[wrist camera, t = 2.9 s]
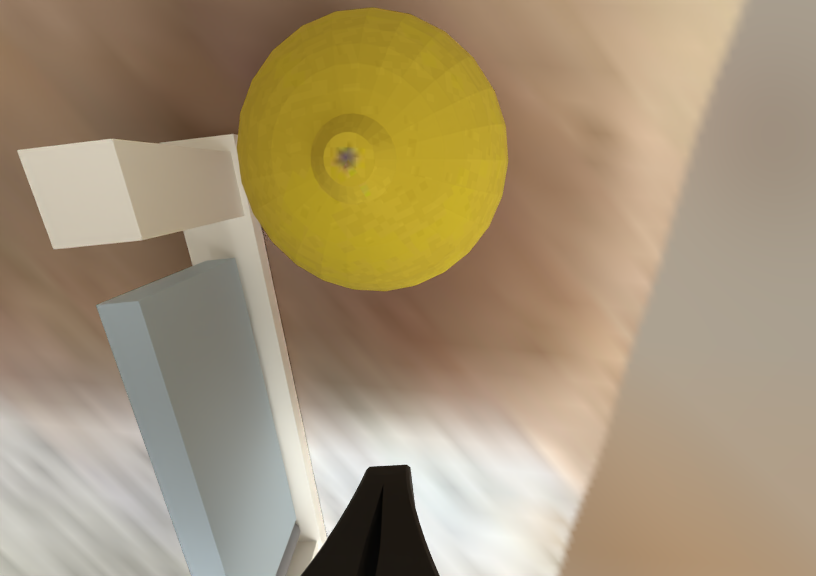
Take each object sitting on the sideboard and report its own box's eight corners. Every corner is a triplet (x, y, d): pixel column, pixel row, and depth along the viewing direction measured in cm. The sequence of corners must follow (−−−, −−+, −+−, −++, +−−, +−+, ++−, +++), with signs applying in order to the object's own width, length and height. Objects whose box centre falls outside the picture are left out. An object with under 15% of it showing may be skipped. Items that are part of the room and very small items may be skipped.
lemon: (441, 40, 12) (477, -221, 4) (501, 214, 13) (615, 274, 5) (280, 119, 12) (46, 31, 5) (353, 274, 14) (264, 402, 6)
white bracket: (332, 562, 18) (294, 723, 12) (281, 564, 18) (223, 724, 13) (241, 135, 12) (113, 109, 7) (171, 144, 13) (-3, 124, 8)
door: (302, 538, 16) (248, 700, 11) (258, 540, 16) (187, 701, 11) (236, 257, 13) (117, 310, 8) (182, 262, 13) (31, 318, 8)
